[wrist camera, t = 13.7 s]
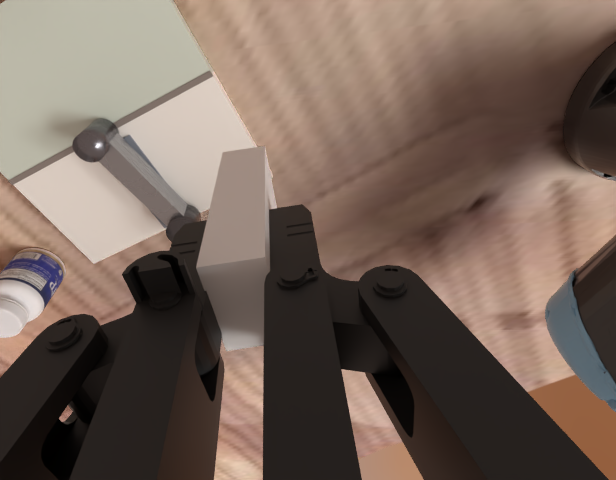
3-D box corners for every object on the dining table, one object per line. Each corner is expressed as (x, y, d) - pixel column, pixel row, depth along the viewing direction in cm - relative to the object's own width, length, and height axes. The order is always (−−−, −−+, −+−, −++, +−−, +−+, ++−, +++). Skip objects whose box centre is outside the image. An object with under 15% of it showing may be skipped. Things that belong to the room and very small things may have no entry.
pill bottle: (56, 290, 47) (17, 350, 39) (7, 270, 44) (-43, 329, 37) (74, 260, 45) (37, 318, 37) (24, 237, 42) (-26, 293, 35)
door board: (272, 173, 41) (272, 179, 40) (97, 257, 45) (93, 264, 43) (129, -76, 29) (124, -78, 28) (-93, 67, 33) (-105, 71, 32)
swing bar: (82, 129, 35) (63, 146, 32) (105, 111, 35) (88, 126, 31) (186, 230, 42) (179, 253, 39) (207, 217, 41) (202, 238, 38)
